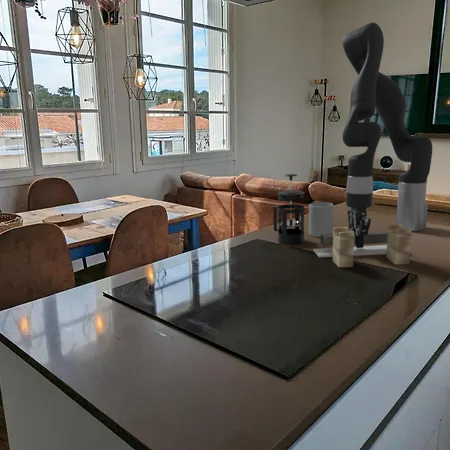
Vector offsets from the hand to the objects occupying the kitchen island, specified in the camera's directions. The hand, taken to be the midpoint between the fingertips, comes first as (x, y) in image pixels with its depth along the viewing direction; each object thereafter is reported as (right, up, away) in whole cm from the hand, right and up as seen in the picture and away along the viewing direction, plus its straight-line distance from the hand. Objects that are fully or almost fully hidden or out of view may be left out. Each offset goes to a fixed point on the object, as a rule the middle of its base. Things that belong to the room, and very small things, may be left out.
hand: (357, 245), depth 131 cm
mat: (0, -2, 0) cm, 2 cm away
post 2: (+9, -4, -9) cm, 13 cm away
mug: (-6, +3, +24) cm, 25 cm away
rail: (0, +1, 0) cm, 1 cm away
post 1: (-7, -5, -10) cm, 13 cm away
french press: (-19, +1, +15) cm, 24 cm away
